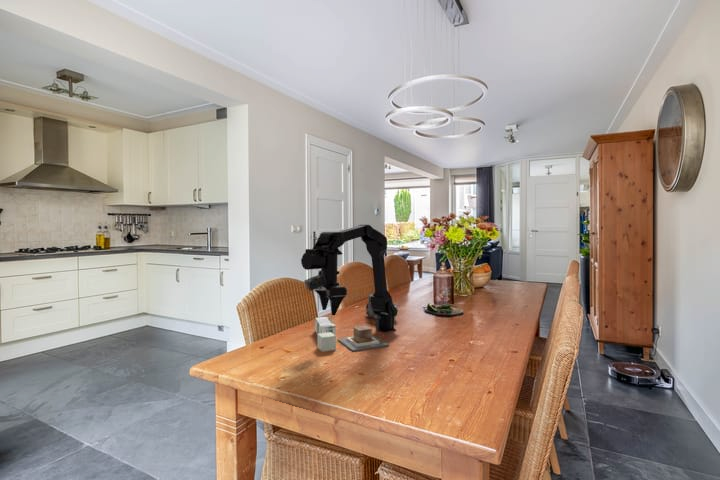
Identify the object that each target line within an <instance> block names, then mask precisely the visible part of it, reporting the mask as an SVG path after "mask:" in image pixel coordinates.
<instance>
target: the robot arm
mask: <svg viewBox="0 0 720 480" xmlns="http://www.w3.org/2000/svg"><path fill="white" fill-rule="evenodd" d="M318 236H319V237H318V238H317V240H316V242H315V244H314V246H313V247H312V248H306V249H305V252H304V253H303V255H302V256H301V259H300V262H301V263H300V264H301V267H302V268H303V269H304V270H307V271H308V270H309V271H310V270H318V273H317V275H314V276H312V277H309V278H307V279H305V280H304V281H303V282H304V285H305V287H306V289H307V290H308V291H310V292H311V291H314V293H316V294H317V295H318V297H319V300H320V306H321V308H322V311H326V310H327V309H328V308H327V307H328V306H330V312H331V313H330V314H331V316H336V314H337V311H338V309H339V308H340V306H341V304H342V302H343V300H344V298H346V296H347V295H348V288H346V287H345V286H343V285H340V283H339V282H338V275H340V271H339V270H338V260H339V259H338V257H339V256H342V255H343V252H342V251H341V250H340V247H342V246H343V245H344V244H345V243H346V242H349V241H351V240H354V239H359V238H360V239H361V241H362V242H363V243H364V244H365V246H366V247H365V248H366V250H367V252H368V254H369V255H370V257H371V267H372V274H373V275H372V276H373V283H374V285H373V286H374V292H373V294H372V295H373V296H371V298H370V299H371V306H372V308H373V311H374V314H378V315H377V318H376V319H375V329H376V330H377V331H379V332H380V333H385V332H393V331H394V332H395V331H397V329H396V327H395V317H396V316H397V315H398V311H399V310H398V309H397V308H396V307H395V306H394V305H393V303H394V302H393V297H392V295H391V294H390V293H389V291H388V287H387V286H388V283H387V275H386V274H387V273H386V265H385V254H386V252H387V250H388V239H387V237H386V235H385V234H383V233H382V232H380V231H379V230H376V229H375V228H374V227H373V226H372V225H370V224H358V225H356V226H353V227H349V228H345V229H342V230H340V231H322V232H320V233H319V235H318ZM328 304H330V305H328Z"/></svg>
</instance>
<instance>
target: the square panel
mask: <svg viewBox="0 0 720 480" xmlns="http://www.w3.org/2000/svg"><path fill="white" fill-rule="evenodd" d="M337 341H338V342H340V343H341V344H342V345H344V346H345V347H346V348H347V349H349V350H350V351H351V352H353V353H354V352H359V351H366V350H372V349H379V348H385V347H389V346H390V345H389V343H387V342H385V340H382V339H381V338H379V337H377V336H375V335H374V334H372V342H365V343H357V342H355V341H354V336H349V337H341V338H337Z"/></svg>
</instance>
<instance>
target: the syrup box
mask: <svg viewBox="0 0 720 480" xmlns="http://www.w3.org/2000/svg"><path fill="white" fill-rule="evenodd" d="M336 328H337V326H336V324H335V323H334V322H333V320H332V319H331V318H330V316H324V317H321V316H320V317H315V318H314V330H315V331H314V332H315V333H316V335H317V334H320V333H327V332H331V333H333V334H334V335H335V336H336V330H337V329H336Z"/></svg>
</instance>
